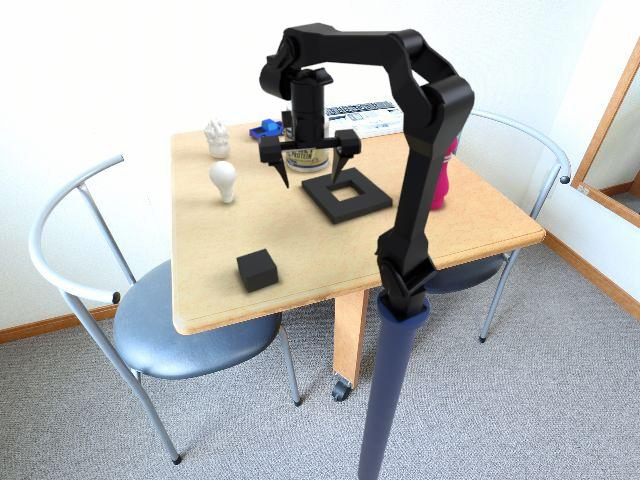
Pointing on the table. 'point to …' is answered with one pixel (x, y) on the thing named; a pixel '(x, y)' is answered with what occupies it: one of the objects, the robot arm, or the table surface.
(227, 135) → the figurine
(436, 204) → the pepper mill
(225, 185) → the lightbulb
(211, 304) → the table surface
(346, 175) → the socket pad
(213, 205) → the table surface
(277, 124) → the toy car
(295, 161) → the supplement tub
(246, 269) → the small pad
